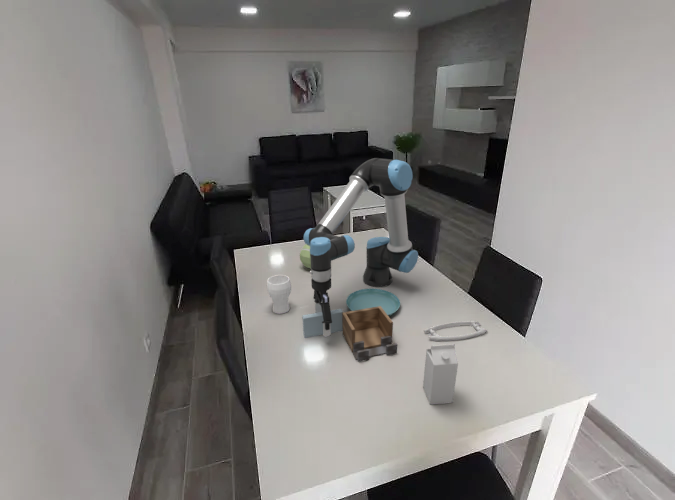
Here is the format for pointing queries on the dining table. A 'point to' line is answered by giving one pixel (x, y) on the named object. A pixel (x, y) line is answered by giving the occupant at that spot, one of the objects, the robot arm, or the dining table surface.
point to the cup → (279, 292)
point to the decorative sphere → (305, 256)
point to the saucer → (373, 300)
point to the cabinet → (368, 333)
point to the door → (315, 325)
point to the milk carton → (440, 373)
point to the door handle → (452, 338)
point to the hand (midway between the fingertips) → (322, 326)
